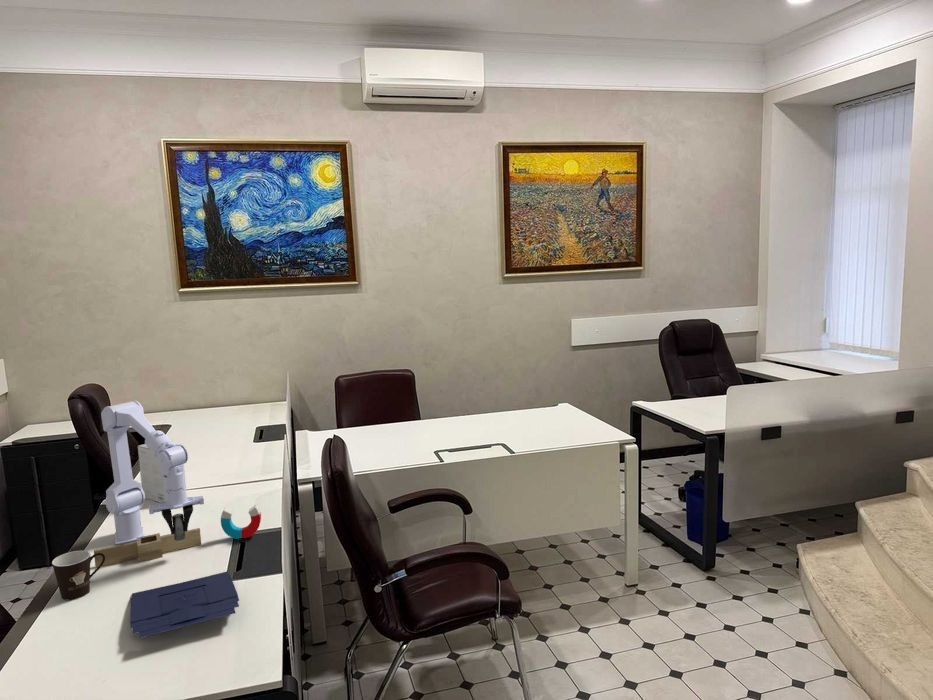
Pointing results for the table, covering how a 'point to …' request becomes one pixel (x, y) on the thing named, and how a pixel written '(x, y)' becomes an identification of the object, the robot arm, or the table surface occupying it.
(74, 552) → the coffee mug
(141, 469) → the hard drive box
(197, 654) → the table surface
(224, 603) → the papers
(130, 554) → the tan wooden bar
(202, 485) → the table surface
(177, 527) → the pin
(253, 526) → the magnet
